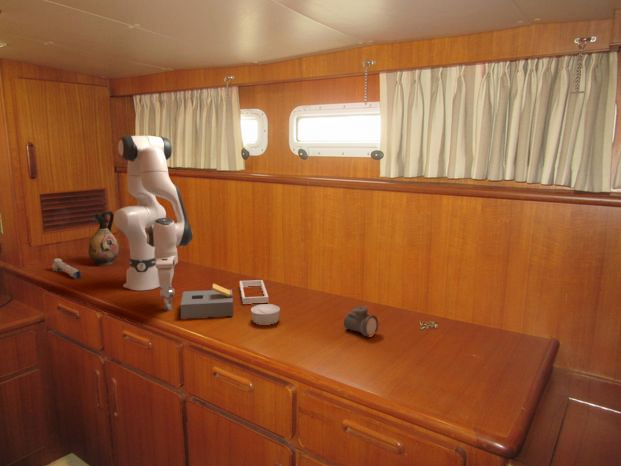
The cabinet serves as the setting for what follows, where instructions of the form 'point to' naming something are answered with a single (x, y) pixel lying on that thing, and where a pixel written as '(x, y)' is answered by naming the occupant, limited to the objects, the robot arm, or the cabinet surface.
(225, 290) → the yellow rectangular slab
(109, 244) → the ceramic jug
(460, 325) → the cabinet surface
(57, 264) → the beige knobbed rod
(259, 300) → the rectangular frame
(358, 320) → the pipe fitting
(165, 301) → the steel peg
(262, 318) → the ramekin
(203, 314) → the hitch block
